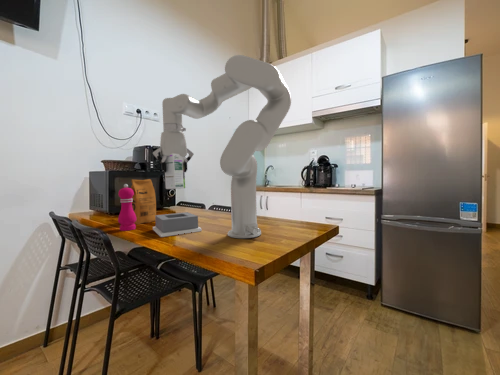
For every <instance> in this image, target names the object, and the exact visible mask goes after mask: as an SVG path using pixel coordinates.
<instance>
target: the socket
mask: <svg viewBox="0 0 500 375" xmlns="http://www.w3.org/2000/svg"><path fill="white" fill-rule="evenodd" d="M155 220H156V221H155V226H152V231H153V232H155V233H156V234H157V235H158V236H159V237H160V238H164V237H170V236H176V235H177V236H178V234H179V235H184V233H185V234H191V232H192V233H199V232H202V227H200V226H199V216H198V215H195V214H194V213H191V212H186V211H185V212H177V213H168V214H167V213H165V214H156V215H155Z"/></svg>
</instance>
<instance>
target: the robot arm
mask: <svg viewBox="0 0 500 375" xmlns="http://www.w3.org/2000/svg"><path fill="white" fill-rule="evenodd" d="M224 72H225V73H223V74H221V75H219V76H217V77H215V78H213V79H212V80H211V82H210V88H211V92H210V93H209V94H208V95H206V97H203V98H201V99H199V100H198V99H196V98H194V97H192V96H191V95H189V94H186V93H181V94H177V95H176V96H174V97H165V98H164V99H163V100H162V104H161V105H162V124H163V127H162V128H163V129H162V130H163V131H162V132H161V133H160V134H161V135H160V141H159V142H160V143H159V144H160V146H159V148H157V149H156V150H154V151H153V152H152V154H153V156H154V157H155V158H156V159H157V160H158V161H159V162H160V165H161V168H160V169H161V171H162V173H164V174H165V172H166V162H165V160H166V158H167V156H170V154H171V153H174V154H179V155H180V156H182V157H183V159H184V172H185V173H187V171H188V163H189V162H190V160H191V159H192V158H193V156H194V152H192V151H191V150H190V149H189V148H187V142H186V136H185V135H186V134H185V133H184V132H186V130H187V128H186V127H184V126H183V116H187V117H190V118H192V119H197V120H198V119H201V118H204V117H207V116H209V115H211V114H213V113H214V112H216V111H217V110H218V108H220V107H221V106H222V103H224V102H225V101H227V100H229V99H232V98H233V97H235V96H237V95H239V94H242V93H244V92H245V91H248V90H251V88H253V89H256V90H258V91H259V92H260V93H261V94H262V95H263V96H264V98H265V99H266V100H267V103H266V104H265V105H264V106H263V108H261V110H260V112H259V113H258V115H257V117H256V118H255V119H248V120H245V121H242V123H241V124H240V125H238V126H237V127H236V129H235V131H234V132H233V134H232V135H231V137H230V139H229V140H228V143H227V144H226V146H225V147H224V150H223V151H222V154H221V156H220V158H219V164H220V166H219V167H220V169H221V171H223V173H225V175H228V176H230V177H231V180H230V181H231V182H230V207H231V208H230V211H231V217H230V218H231V229H230V230H228V232H227V236H228V237H229V238H233V239H251V238H252V239H253V238H257V237H260V236H261V235H262V231H261V228H259V226H258V220H257V176H258V175H257V174H258V163H257V159H256V157H255V152H262V151H264V150H266V149H267V147H268V146H269V144H270V143H271V140H273V138H274V135H276V133H277V132H278V129H279V128H280V126H281V124H282V122H283V121H284V120H285V118H286V116H287V114H288V113H289V111H290V109H291V105H292V96H291V92H290V90H289V87H288V85H287V83H286V82H285V80H284V78H283V76H282V74H281V73H280V70H278V68H277V67H276V66H274V65H273V64H272V63H269V62H267V61H263V60H260V59H257V58H254V57H250V56H247V55H243V54H237V55H236V54H235V55H233V56H231V57H229V58H228V59H227V61H226V63H225V65H224ZM159 153H160V155H159Z"/></svg>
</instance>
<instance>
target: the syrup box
mask: <svg viewBox="0 0 500 375" xmlns="http://www.w3.org/2000/svg"><path fill="white" fill-rule="evenodd" d="M165 162H166V172H165V173H164V180H165V189H166V190H177V189H178V190H181V189H186V179H185V178H186V175H185V173H186V172H184V159H183V157H182V156H180V155H179V154H174V153H171V154H170V156H167V158H166V160H165Z"/></svg>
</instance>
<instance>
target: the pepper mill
mask: <svg viewBox="0 0 500 375" xmlns="http://www.w3.org/2000/svg"><path fill="white" fill-rule="evenodd" d="M117 193H118V194H117V195H118V198H120V202H119V203H121V204H120V205H121V206H120V207H121V209H120V212H119V215H118V218H117V222H118V223H119V231H121V232H126V231H132V230H136V228H137V226H136V225H137V224H134V223H135V222H136V220H137V219H136V215H135V213H134V211H133V208H132V202H133V199H132V197H133V195H134V191H133V190H132V189H131V187H129V185H128V184H127V183H124V184H123V187H122V188H120V189H119V190H118V192H117Z"/></svg>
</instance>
